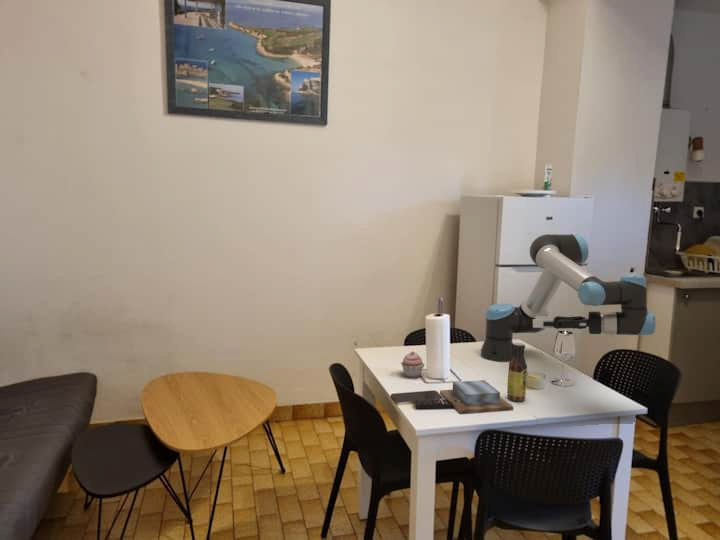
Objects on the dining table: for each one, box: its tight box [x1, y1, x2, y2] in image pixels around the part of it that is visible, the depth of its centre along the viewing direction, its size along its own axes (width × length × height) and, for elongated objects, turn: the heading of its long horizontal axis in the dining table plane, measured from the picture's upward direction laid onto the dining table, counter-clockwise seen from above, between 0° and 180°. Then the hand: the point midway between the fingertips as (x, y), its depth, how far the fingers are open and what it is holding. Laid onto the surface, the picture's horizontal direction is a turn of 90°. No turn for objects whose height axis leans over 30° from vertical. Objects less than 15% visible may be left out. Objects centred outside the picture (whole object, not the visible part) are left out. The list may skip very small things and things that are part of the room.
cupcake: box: [400, 350, 425, 379], centre depth 203 cm, size 9×9×10 cm
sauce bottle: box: [506, 342, 528, 402], centre depth 181 cm, size 7×6×20 cm
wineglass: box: [551, 330, 576, 387], centre depth 198 cm, size 8×8×20 cm
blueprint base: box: [439, 379, 514, 415], centre depth 179 cm, size 19×18×5 cm
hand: (534, 321), depth 179 cm, fingers open, 13 cm apart
